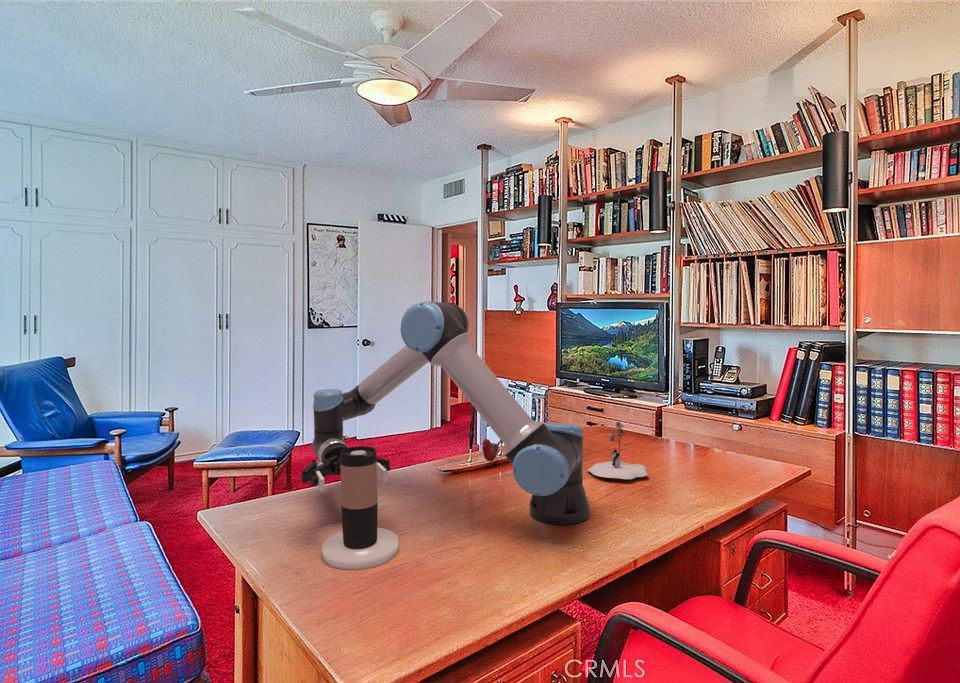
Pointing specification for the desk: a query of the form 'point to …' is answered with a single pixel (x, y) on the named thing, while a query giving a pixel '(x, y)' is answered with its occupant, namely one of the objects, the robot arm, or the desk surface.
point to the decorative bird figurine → (490, 450)
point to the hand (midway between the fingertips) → (354, 480)
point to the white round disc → (360, 551)
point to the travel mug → (359, 496)
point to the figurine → (618, 464)
